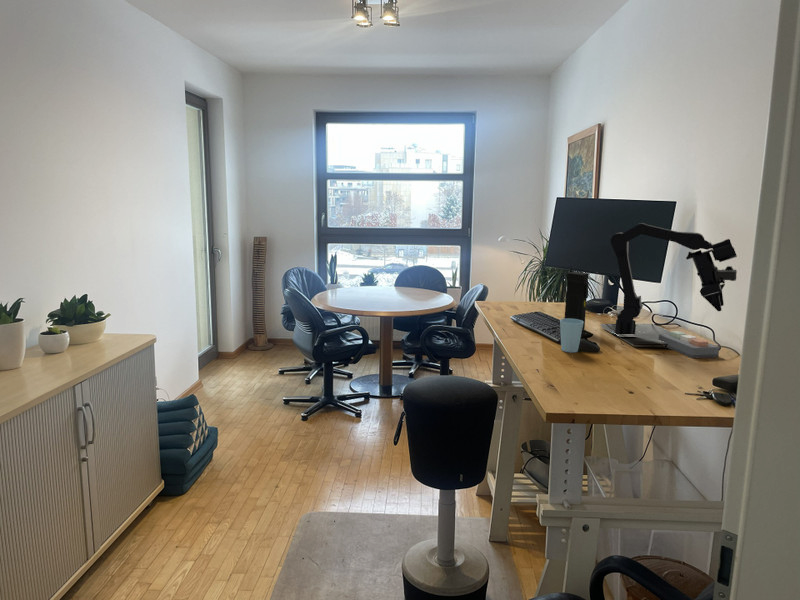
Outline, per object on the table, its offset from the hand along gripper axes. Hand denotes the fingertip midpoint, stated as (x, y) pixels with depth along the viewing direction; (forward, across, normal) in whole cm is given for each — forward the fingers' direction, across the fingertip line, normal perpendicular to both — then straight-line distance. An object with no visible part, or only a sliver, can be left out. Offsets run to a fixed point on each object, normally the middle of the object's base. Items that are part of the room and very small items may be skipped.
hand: (721, 308), depth 203 cm
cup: (-6, -37, +43) cm, 57 cm away
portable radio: (-7, -5, +51) cm, 51 cm away
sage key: (+5, -7, +16) cm, 18 cm away
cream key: (+7, -11, +12) cm, 18 cm away
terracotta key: (+8, -15, +9) cm, 19 cm away
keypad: (+9, -11, +13) cm, 20 cm away
